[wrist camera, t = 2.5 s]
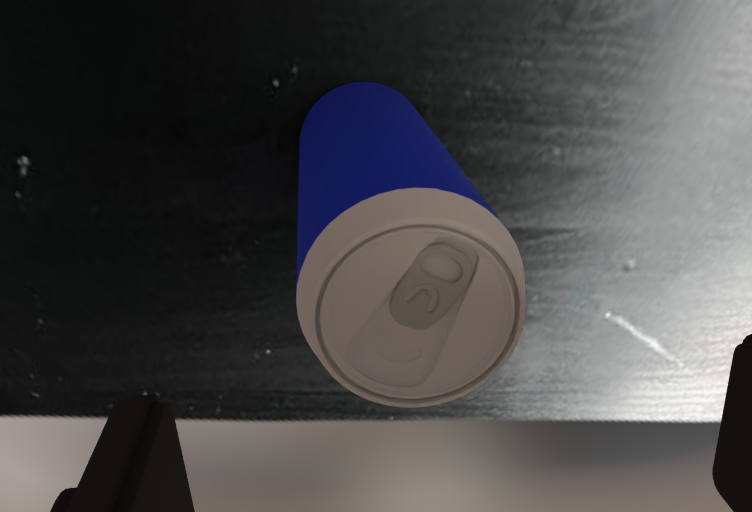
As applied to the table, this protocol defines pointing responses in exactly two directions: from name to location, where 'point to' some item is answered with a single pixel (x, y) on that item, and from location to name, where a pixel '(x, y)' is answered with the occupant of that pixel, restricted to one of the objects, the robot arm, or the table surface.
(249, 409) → the table surface
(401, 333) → the beverage can
